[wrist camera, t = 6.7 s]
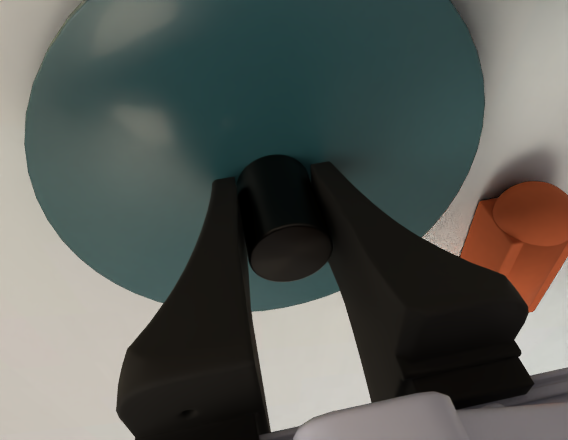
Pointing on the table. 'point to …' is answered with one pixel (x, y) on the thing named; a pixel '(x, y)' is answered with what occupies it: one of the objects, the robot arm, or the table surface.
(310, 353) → the table surface
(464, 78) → the pot lid
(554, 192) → the hot dog
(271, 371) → the table surface
